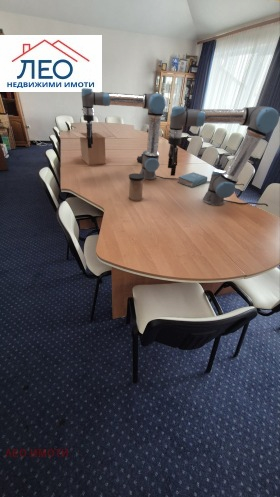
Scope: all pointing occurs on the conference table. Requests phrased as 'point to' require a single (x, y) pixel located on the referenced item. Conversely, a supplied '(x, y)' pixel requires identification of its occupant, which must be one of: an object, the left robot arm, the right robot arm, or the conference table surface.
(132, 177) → the lid
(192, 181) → the book
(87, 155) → the box
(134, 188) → the jar
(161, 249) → the conference table surface
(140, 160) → the laser sight
